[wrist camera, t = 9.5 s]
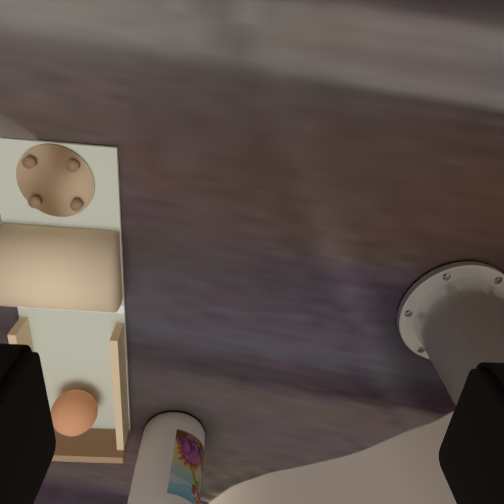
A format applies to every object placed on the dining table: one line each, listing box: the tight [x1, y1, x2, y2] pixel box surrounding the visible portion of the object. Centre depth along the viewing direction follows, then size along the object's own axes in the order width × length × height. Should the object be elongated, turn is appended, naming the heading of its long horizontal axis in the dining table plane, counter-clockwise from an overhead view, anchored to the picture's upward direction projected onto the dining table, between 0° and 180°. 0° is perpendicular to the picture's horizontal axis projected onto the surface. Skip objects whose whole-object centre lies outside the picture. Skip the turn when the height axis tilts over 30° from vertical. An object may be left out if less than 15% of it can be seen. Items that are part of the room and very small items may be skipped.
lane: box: [0, 137, 131, 463], centre depth 47 cm, size 11×36×8 cm, turn 175°
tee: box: [16, 144, 95, 217], centre depth 40 cm, size 7×7×1 cm
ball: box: [51, 389, 98, 436], centre depth 51 cm, size 5×5×5 cm
